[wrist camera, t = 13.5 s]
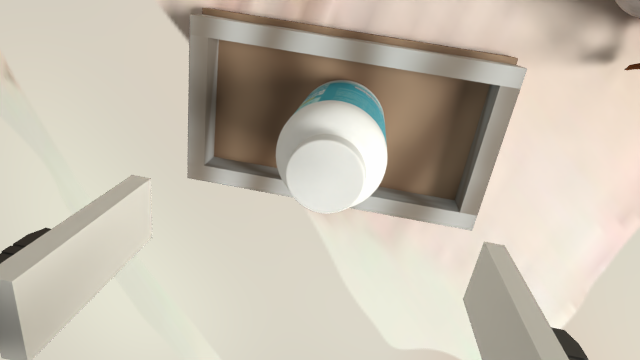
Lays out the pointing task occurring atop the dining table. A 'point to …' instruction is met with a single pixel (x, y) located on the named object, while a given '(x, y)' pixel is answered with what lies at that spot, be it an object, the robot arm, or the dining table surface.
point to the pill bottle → (333, 147)
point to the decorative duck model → (636, 3)
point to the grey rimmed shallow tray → (368, 70)
